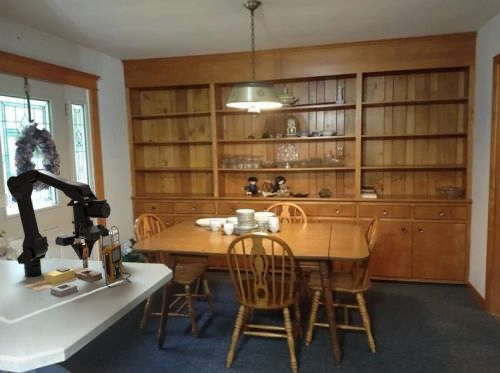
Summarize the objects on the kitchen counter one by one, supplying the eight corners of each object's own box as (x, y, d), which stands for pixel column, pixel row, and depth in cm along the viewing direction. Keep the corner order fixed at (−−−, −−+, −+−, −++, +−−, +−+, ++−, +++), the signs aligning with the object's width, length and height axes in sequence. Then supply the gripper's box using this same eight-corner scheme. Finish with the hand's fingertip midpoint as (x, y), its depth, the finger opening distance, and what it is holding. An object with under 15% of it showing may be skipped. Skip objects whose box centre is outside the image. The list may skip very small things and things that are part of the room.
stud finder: (45, 281, 143) (44, 272, 142) (65, 274, 149) (64, 266, 149) (54, 284, 139) (53, 274, 139) (74, 277, 146) (74, 268, 146)
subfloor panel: (23, 288, 138) (23, 286, 138) (63, 275, 151) (63, 273, 151) (38, 293, 133) (38, 291, 133) (78, 280, 145) (78, 278, 145)
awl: (80, 268, 146) (78, 244, 145) (86, 266, 148) (85, 243, 147) (84, 269, 144) (82, 245, 143) (91, 267, 147) (89, 244, 146)
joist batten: (66, 276, 150) (66, 270, 149) (78, 272, 154) (78, 266, 154) (90, 283, 141) (89, 277, 141) (102, 279, 145) (101, 272, 145)
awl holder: (51, 295, 131) (50, 287, 131) (67, 289, 136) (67, 282, 136) (60, 298, 128) (60, 291, 128) (77, 292, 133) (77, 285, 133)
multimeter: (126, 288, 136) (122, 232, 134) (100, 287, 138) (96, 231, 136) (145, 274, 150) (142, 223, 148) (121, 273, 152) (118, 223, 150)
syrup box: (121, 263, 165) (119, 230, 163) (115, 268, 159) (113, 233, 157) (108, 263, 165) (106, 230, 163) (102, 267, 159) (99, 233, 158)
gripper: (70, 224, 132) (74, 269, 134) (116, 215, 147) (119, 255, 149) (52, 221, 138) (56, 264, 140) (98, 213, 154) (101, 251, 155)
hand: (84, 258), depth 146 cm, fingers closed on awl, 3 cm apart
